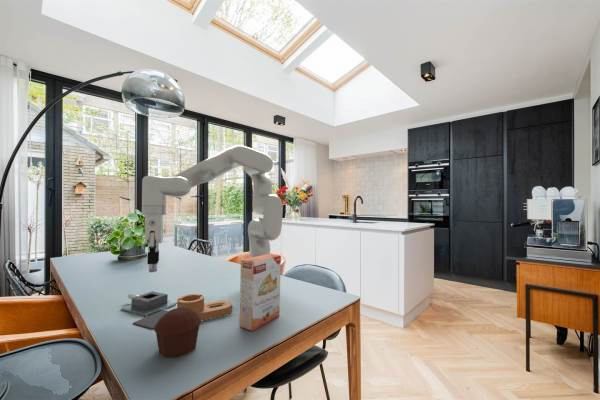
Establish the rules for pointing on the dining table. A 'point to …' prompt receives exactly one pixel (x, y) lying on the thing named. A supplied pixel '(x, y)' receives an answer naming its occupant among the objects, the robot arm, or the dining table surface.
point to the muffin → (177, 332)
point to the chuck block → (148, 303)
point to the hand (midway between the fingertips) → (153, 262)
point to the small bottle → (153, 265)
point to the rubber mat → (150, 320)
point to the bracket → (204, 306)
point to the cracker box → (259, 290)
